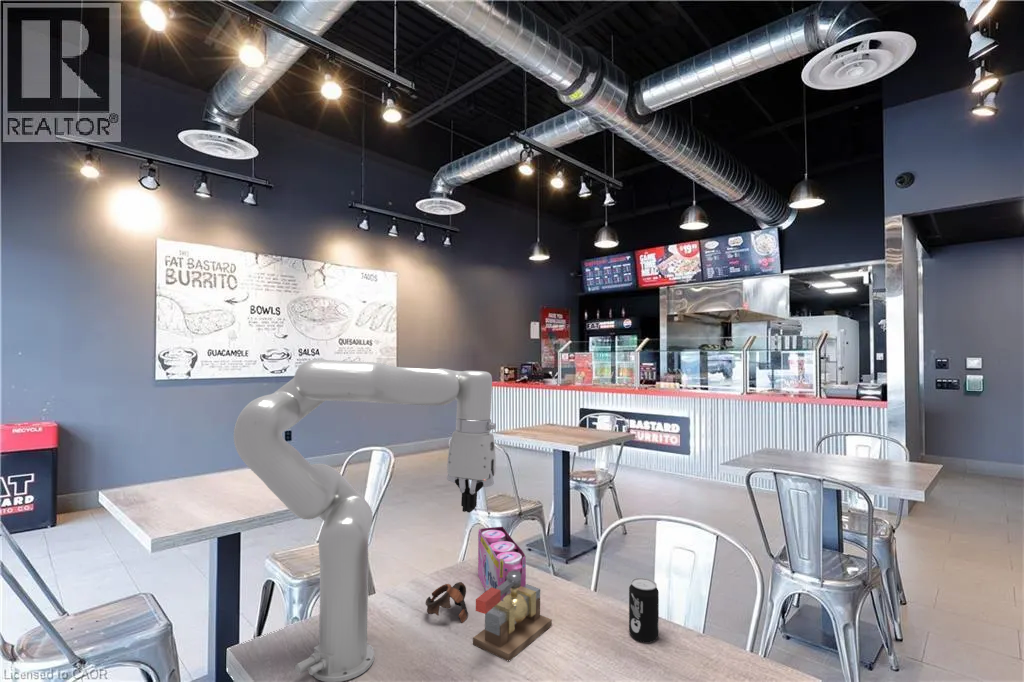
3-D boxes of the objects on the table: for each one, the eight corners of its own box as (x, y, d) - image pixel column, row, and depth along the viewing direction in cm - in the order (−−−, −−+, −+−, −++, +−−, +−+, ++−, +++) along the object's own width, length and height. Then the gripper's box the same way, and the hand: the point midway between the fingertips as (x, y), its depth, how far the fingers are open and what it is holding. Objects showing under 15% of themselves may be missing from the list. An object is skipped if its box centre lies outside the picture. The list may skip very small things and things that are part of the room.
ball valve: (503, 643, 103) (503, 604, 104) (480, 633, 107) (481, 595, 107) (544, 612, 116) (544, 577, 116) (522, 603, 120) (522, 570, 120)
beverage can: (659, 646, 108) (659, 591, 108) (629, 642, 109) (629, 588, 109) (657, 629, 114) (657, 578, 115) (628, 626, 116) (628, 575, 116)
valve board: (508, 661, 102) (509, 632, 102) (472, 644, 108) (473, 616, 108) (551, 625, 115) (551, 600, 116) (517, 612, 121) (518, 587, 122)
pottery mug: (460, 632, 113) (442, 602, 113) (431, 639, 117) (414, 610, 117) (482, 596, 124) (465, 568, 124) (455, 604, 128) (439, 577, 128)
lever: (511, 581, 114) (511, 570, 114) (522, 584, 112) (523, 573, 113) (474, 610, 101) (474, 598, 101) (486, 614, 99) (486, 602, 99)
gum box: (528, 613, 121) (529, 558, 122) (498, 617, 119) (498, 561, 119) (503, 572, 144) (503, 525, 145) (477, 575, 142) (477, 528, 142)
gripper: (510, 427, 108) (506, 510, 108) (449, 421, 113) (445, 501, 112) (498, 431, 101) (494, 520, 101) (434, 425, 106) (430, 510, 105)
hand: (468, 510), depth 107 cm, fingers closed
